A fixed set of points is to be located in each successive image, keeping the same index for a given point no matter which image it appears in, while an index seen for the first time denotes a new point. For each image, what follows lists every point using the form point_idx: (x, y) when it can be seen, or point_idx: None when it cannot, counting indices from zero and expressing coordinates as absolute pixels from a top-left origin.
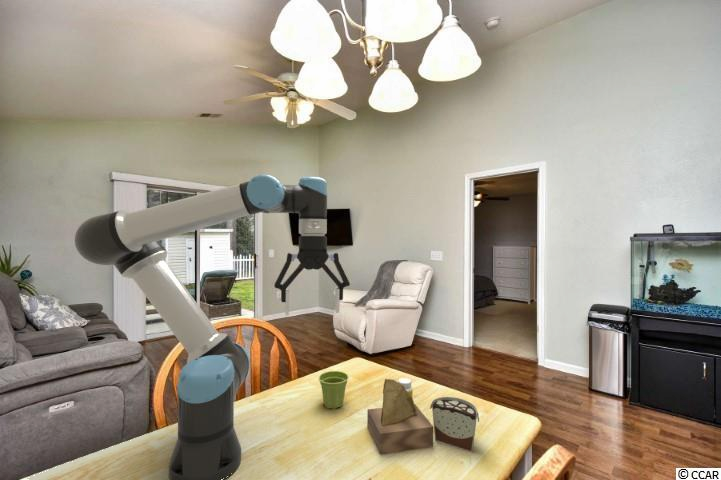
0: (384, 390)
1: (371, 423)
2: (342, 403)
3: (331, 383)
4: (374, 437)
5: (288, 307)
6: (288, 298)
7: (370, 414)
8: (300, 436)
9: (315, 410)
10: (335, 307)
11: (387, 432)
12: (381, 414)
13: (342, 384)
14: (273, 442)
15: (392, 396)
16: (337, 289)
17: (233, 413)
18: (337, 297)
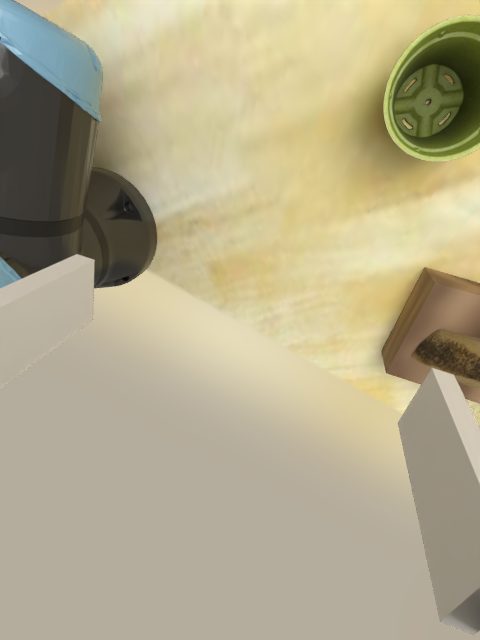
0: (457, 376)
1: (413, 310)
2: (444, 130)
3: (405, 152)
4: (399, 323)
5: (59, 342)
6: (7, 382)
7: (423, 306)
8: (272, 223)
9: (355, 118)
10: (426, 407)
11: (402, 377)
12: (426, 351)
13: (450, 152)
14: (216, 217)
15: (467, 382)
16: (448, 621)
17: (95, 264)
18: (427, 531)
